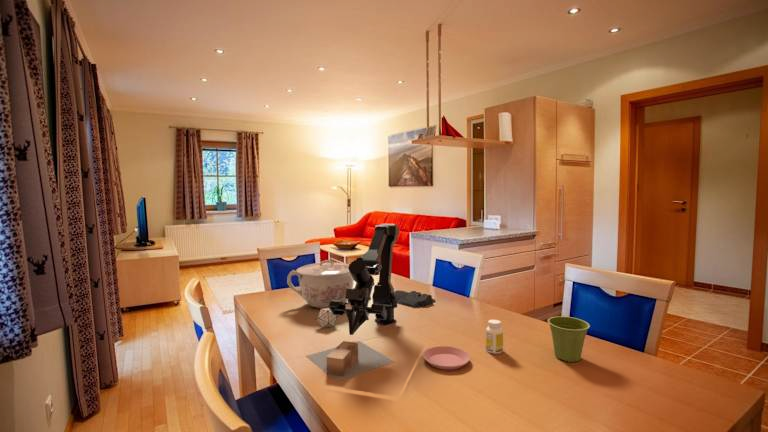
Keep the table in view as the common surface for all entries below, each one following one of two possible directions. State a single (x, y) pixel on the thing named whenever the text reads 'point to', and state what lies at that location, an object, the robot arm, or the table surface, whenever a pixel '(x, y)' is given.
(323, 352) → the rubber mat
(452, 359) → the plate
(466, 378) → the table surface
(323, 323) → the game die
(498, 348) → the supplement bottle
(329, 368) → the walnut block
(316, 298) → the chamber pot
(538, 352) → the table surface
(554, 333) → the plant pot
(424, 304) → the dark slate chunk
